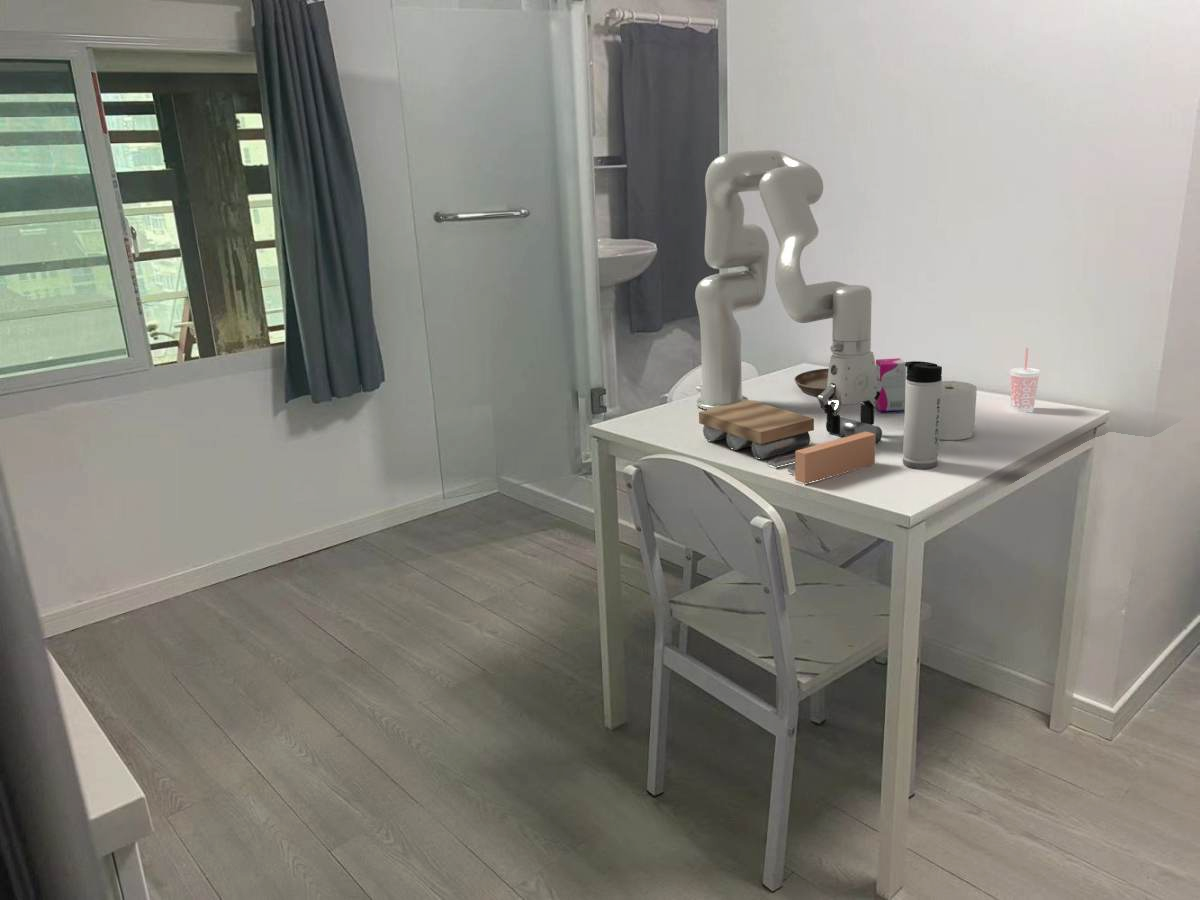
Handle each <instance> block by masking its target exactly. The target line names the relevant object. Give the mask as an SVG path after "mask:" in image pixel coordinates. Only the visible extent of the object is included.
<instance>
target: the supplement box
mask: <svg viewBox="0 0 1200 900" xmlns="http://www.w3.org/2000/svg"><path fill="white" fill-rule="evenodd" d="M875 365H876V378H877V380H878V381H880V382H882V383H883V385H882V388H881V391H880V396H879V397H878V399H877V404H876V405H875V406H874V408H876V410H877V411H878V413H879V412H880V413H879V414H884V413H885V414H888V413H889V414H890V413H905V394H906V377H907V367H906V366H905V361H904V360H903V359H902V358H901V357H899V358H883V359H882V358H880V359H875Z"/></svg>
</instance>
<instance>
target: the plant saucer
mask: <svg viewBox="0 0 1200 900" xmlns="http://www.w3.org/2000/svg"><path fill="white" fill-rule="evenodd" d="M828 371H829V367H828V368H818V369H813V370H807V371H804V372H801V373H799V374H797V375H796V376H794V379H793V381H794V382H795V384H796V385H797V386H798V387H799V389H800V390H802V392H804V393H806V394H807V393H808V395H810V394H811V396H814V397H815V396H816V397H818V396H819V395H820V394H821V393H822V392H823V391H824V390H825V389H827V382H828Z"/></svg>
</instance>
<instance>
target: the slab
mask: <svg viewBox="0 0 1200 900" xmlns="http://www.w3.org/2000/svg"><path fill="white" fill-rule="evenodd" d="M698 424H701V425H703V426H704V425H706V426H709V427H712V428H715V429H717V430H720V431H723V432H726V433H729V434H732V435H735V436H738V437H741V438H744V439H747V440H750V441H753V442H756V443H759V444H764V443H767V442H771V441H775V440H779V439H783V438H786V437H790V436H794V435H798V434H801V433H805V432H808V433H810V432H812V431H813V432H814V431H815V418H814V417H811V416H807V415H803V414H800V413H796V412H793V411H790V410H786V409H783V408H779V407H776V406H773V405H768V404H765V403H762V402H758V401H755V400H751V399H748V401H744V402H739V403H735V404H731V405H727V406H722V407H718V408H714V409H710V410H706V409H704V410H702V411H698Z"/></svg>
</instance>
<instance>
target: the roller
mask: <svg viewBox="0 0 1200 900" xmlns="http://www.w3.org/2000/svg"><path fill="white" fill-rule="evenodd" d="M825 429H826V430H827V421H826V423H825ZM865 431H866V432H870V433H873V434H876V438H875V445H878V444H879V443H880V442H881V440H882V439H883V438H882V437H883V430H882V428H881V427H880V426H876V425H875V424H873V425H870V424H867V423H863V422H861V421H860V420H855V419H851V418H848V417H845V416H841V415H840V433H839V434H834V433H830V432H828V433H829V434H833V435H835V436H840V437H842V436H843V437H842V438H844V437H847V436H851V435H855V434H858V433H862V432H865Z"/></svg>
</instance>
